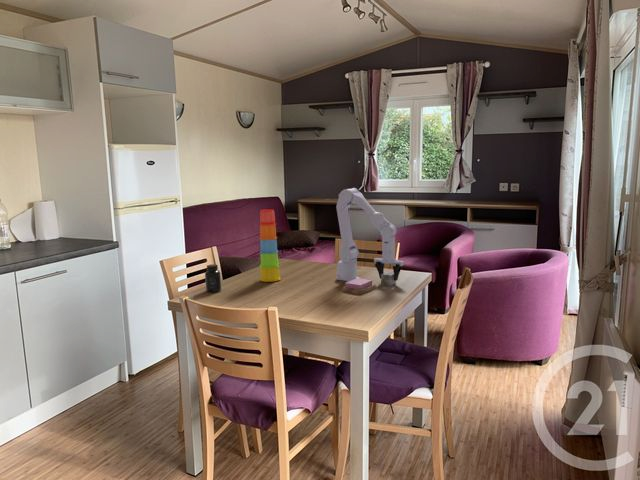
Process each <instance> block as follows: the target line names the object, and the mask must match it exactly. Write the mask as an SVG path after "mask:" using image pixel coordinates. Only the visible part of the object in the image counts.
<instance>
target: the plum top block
mask: <svg viewBox="0 0 640 480" xmlns="http://www.w3.org/2000/svg"><path fill="white" fill-rule="evenodd" d="M372 284H373V280H371V279H365V278H361V277H360V278H356V279H354V280H351V281H345V282H344V286H345V287H347V288H353V289H359V290H361V289H363V288H366V287H368V286H370V285H372Z"/></svg>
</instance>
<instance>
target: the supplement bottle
mask: <svg viewBox="0 0 640 480" xmlns="http://www.w3.org/2000/svg"><path fill="white" fill-rule="evenodd" d="M206 270H207V271H206V272H205V273H204V275H205V276H204V280H205V281H204V282H205V291H206V292H207V293H211V294H212V293H213V294H215V293H219V292H221V290H222V279H221V276H222V275H221V272H220V270H219V268H218V264H215V263H214V264H208V265H207V264H206Z"/></svg>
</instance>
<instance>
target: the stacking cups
mask: <svg viewBox="0 0 640 480" xmlns="http://www.w3.org/2000/svg"><path fill="white" fill-rule="evenodd" d="M275 215H276V214H275V211H274V209H260V211H259V220H260V223H259V233H260V234H259V235H260V236H259V242H260V243H259V245H260V246H259V247H260V251H259V254H260V264H259V267H260V275H261V277H260V278H259V280H260V282H263V283H264V282H265V283H268V282H271V283H273V282H277V281H278V282H279V281H280V280H281V279H282V277H280V263H279V256H278V255H279V254H278V253H279V250H278V242H277V239H278V236H277V230H276V225H277V223H276V216H275Z"/></svg>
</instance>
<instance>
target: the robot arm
mask: <svg viewBox="0 0 640 480" xmlns="http://www.w3.org/2000/svg"><path fill="white" fill-rule="evenodd" d="M352 205H357V206H359V207H360V208H361V209H362V211H364V212H365V213H366V214H367V215H368V217H370V218H369V219H370V222H371V223H372V224H373V225H374V226H375V227H376V229H377V230H378V231H379V234H380V236H381V237H382V239H381V241H382V242H381V243H382V245H381V246H382V251H381V252H382V253H381V255H382V257H375V258H374V259H373V262H374V263H375V264H374V266H375V268H376V270H377V272H378V276H379V279H380V280H381V274H383V273H385V272H384V269H385V265H392V270H393V273H394V281H396V282H397V281H398V279H399V275H400V272H401V270H402V268H403V266H404V265H405V264H404V262H405V261H403V260H399V259H396V257H395V256H396V237H395V236H396V234H397V232H398V231H397V230H398V229H397V227H396V225H395V224H394V223H391V222H390V221H388V220H387V218H385V216H384V215H385V214H383V212H382V213H381V212H380V211H377V210H375V209H374V208H373V207H372V205H371V204H370V202H369V201H368V200H367V199H366V197H364V194H363V193H362V192H360V191H359V189H358V188H356V187H352V188H346V189H345V188H344V189H343V190H341V192H339V194H338V199H337V203H336V207H335V208H336V214H337V220H338V226H339V232H340V238H341V244H340V247H339V255H338V257H339V261H338V262H337V264H336V278H335V280H339V281H344V282H348V281H351V280H354V279H356V278H360V279H361V277H359V276H358V268H357V267H358V264H357V263H358V260H357V259H358V257H359V255H360V251H359V250H358V247H357V244H356V242H355V241H354V238H353V232H352V225H351V221H350V219H351V218H350V214H349V213H350V212H349V208H350V207H351V206H352Z"/></svg>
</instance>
